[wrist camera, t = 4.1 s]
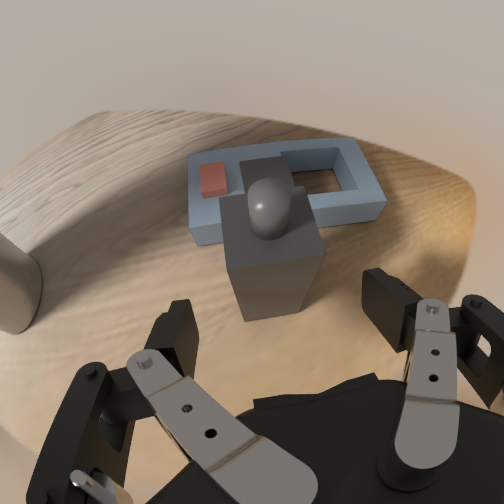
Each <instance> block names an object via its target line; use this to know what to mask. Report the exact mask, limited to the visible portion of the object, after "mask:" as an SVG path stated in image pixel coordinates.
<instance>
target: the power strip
mask: <svg viewBox="0 0 504 504" xmlns="http://www.w3.org/2000/svg"><path fill="white" fill-rule="evenodd" d="M321 169H333V170H334V172H335V175H336V177H337V179H338V181H339V184H340V186H341V189H342V191H338V192H329V193H320V194H311V195H307V196H308V199H309V202H310V205H311V208H312V211H313V214H314V217H315V221H316V224H317V227H318V228H323V227H330V226H337V225H344V224H351V223H358V222H366V221H373V220H376V219H377V218H378V216H379V214H380V213H381V211H382V209H383V207H384V206H385V204H386V202H387V199H386V197H385V195H384V193H383V191H382V189H381V187H380V185H379V183H378V181H377V179H376V177H375V175H374V173H373V171H372V169H371V167H370V165H369V164H368V162H367V160H366V158H365V156H364V155H363V153H362V151H361V149H360V147H359V146H358V144H357V142H356V141H355V139H354V137H337V138H316V139H301V140H289V141H279V142H269V143H260V144H252V145H245V146H237V147H231V148H224V149H218V150H212V151H206V152H200V153H195V154H190V155H188V212H189V229H190V231H191V233H192V235H193V238H194V240H195V242H196V244H197V246H204V245H210V244H216V243H223V233H222V224H221V215H220V206H219V197H225V196H231V195H238V194H244V193H248V190H249V188H250V186H251V185H252V184H253V183H255V182H256V181H258V180H260V179H264V178H274V179H278V180H281V181H283V182H284V183H285V184H287V185H288V187H296V186H295V183H294V180H293V177H292V174H291V172H300V171H310V170H321Z"/></svg>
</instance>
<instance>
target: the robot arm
mask: <svg viewBox="0 0 504 504" xmlns="http://www.w3.org/2000/svg"><path fill="white" fill-rule="evenodd" d="M41 289H42V277H41V271H40V268H39V266H38V264H37V262H36V261H35V260H34V259H33V258H32V257H30V256H29V255H28V254H26V253H25V252H24V251H22V250H21V249H20V248H18V247H17V246H16V245H14V244H13V243H12V242H11V241H10V240H8V239H7V238H6V237H5V236H3V235H2V234H1V233H0V330H1V331H4V332H7V333H9V334H18V333H21V332H22V331H23V330H25V329H26V328H27V326H28V325H29V324H30V322H31V321H32V319H33V317H34V315H35V313H36V311H37V308H38V305H39V301H40V296H41ZM362 308H363V310H364V312H365V314H366V315H367V316H368V317H369V319H370V320H371V321H372V322H373V324H374V325H375V326H376V327H377V329H378V330H379V331H380V332H381V334H382V335H383V336H384V338H385V339H386V340H387V341H388V343H389V344H390V345H391V347H392V348H393V349H394V350H395V352H396V353H399V352H402V351H404V350H407V351H408V353H407V357H406V362H405V367H404V372H403V377H402V381H397V380H378V378H377V376H376V375H375V373H370V374H367V375H364V376H360V377H357V378H354V379H350V380H347V381H345V382H343V383H341V384H339V385H337V386H334V387H332V388H330V389H328V390H326V391H324V392H322V393H319V394H284V395H278V396H272V397H266V398H259V399H253V403H254V408H253V409H250V410H248V411H245V412H243V413H241V414H239V415H238V416H236V417H234V416H233V415H231V414H230V413H229V412H228V411H227V410H226V409H224V408H223V407H222V406H221V405H220V404H219V403H218V402H217V401H215V400H214V399H213V398H212V397H211V396H210V395H209V394H208V393H207V392H206V391H205V390H203V389H202V388H201V387H200V386H199V385H198V384H197V383H196V382H195V381H194V380H193V379H194V372H195V365H196V358H197V351H198V345H199V333H198V328H197V324H196V321H195V317H194V313H193V310H192V306H191V303H190V300H189V299H185V300H177V301H172V303H171V306H170V308H169V311H168V312H166V313H162V314H161V315H160V316H159V317H158V318H157V319H156V321H155V323H154V325H153V328H152V330H151V333H150V335H149V337H148V340H147V342H146V344H145V347H144V349H143V350H141V351H139V352H136V353H135V354H133V355H132V356H131V357H130V358H129V359H128V361H127V364H126V367H124V368H120V369H116V370H112V371H108V369H107V367H106V366H105V364H103V363H101V362H91V363H88V364H86V365H84V366H83V367H81V368H80V369H79V370H78V371H77V373H76V375H75V377H74V379H73V381H72V383H71V385H70V387H69V389H68V391H67V393H66V395H65V397H64V399H63V401H62V403H61V405H60V407H59V410H58V412H57V414H56V416H55V418H54V421H53V423H52V425H51V428H50V430H49V432H48V435H47V437H46V440H45V442H44V445H43V447H42V450H41V452H40V455H39V458H38V460H37V463H36V466H35V469H34V472H33V475H32V478H31V481H30V484H29V487H28V491H27V494H26V503H27V504H133V500H132V498H131V496H130V494H129V493H128V492H127V491H126V490H124V489H123V488H124V481H125V475H126V469H127V463H128V457H129V451H130V446H131V441H132V435H133V430H134V426H135V421H136V420H139V419H143V418H147V417H151V416H154V417H155V418H156V420H157V421H158V423H159V424H160V425H161V427H162V428H163V429H164V431H165V432H166V433H167V435H168V436H169V437H170V439H171V440H172V441H173V443H174V444H175V445H176V446H177V448H178V449H179V450H180V452H181V453H182V454H183V456H184V457H185V458H186V459H187V461H188V462H189V463H188V464H187V465H186V466H185V467H184V468H183V469H182V470H181V471H180V472H179V473H178V474H177V475H176V476H175V477H174V478H173V479H172V480H171V481H170V482H169V483H168V484H167V485H165V486H164V487H163V488H162V489H161V490H160V491H159V492H158V493H157V494H156V495H155V496H153V497H152V498H151V499H150V500H149V501H148V502H147V503H145V504H504V313H503V312H502V311H501V310H499V309H498V308H497V307H496V306H494V305H493V304H492V303H491V302H489V301H488V300H487V299H485V298H483V297H482V296H479V295H467V296H465V297H464V298H463V300H462V305H461V307H456V308H448V306H447V304H446V303H445V302H443V301H441V300H438V299H434V298H427V299H423V298H422V297H421V296H419V295H418V294H417V293H416V292H415V291H413V290H412V289H410V287H408V286H407V285H405V283H403V282H402V281H401V280H400V279H398V278H395V277H393V276H390V275H388V274H387V273H385V272H384V271H383V270H382V269H380V268H374V269H369V270H365V271H364V272H363V276H362ZM481 335H482V336H483V337H484V338H485V339H486V340H487V341H488V342H489V343H490V346H491V354H490V356H489V357H488V356H487V355H486V354H485V353H484V352H483V351H482V350H481V349H480V348H479V347H478V346H477V345H478V342H479V339H480V336H481ZM457 368H458V369H459V370H460V372H461V373H462V374H463V375H464V377H465V378H466V379H467V380H468V382H469V383H470V384H471V386H472V387H473V388H474V390H475V391H476V392H477V394H478V395H479V396H480V398H481V399H482V400H483V402H484V403H485V405H486V406H487V407H488V409H489V410H490V411H488V410H485V409H481V408H478V407H475V406H471V405H469V404H466V403H463V402H459V401H457V399H456V398H457ZM100 416H101V417H100ZM99 419H100V420H99Z"/></svg>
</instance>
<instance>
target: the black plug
mask: <svg viewBox="0 0 504 504" xmlns="http://www.w3.org/2000/svg"><path fill="white" fill-rule="evenodd" d="M219 206H220V215H221V224H222V233H223V242H224V251H225V259H226V267H227V272H228V275H229V278H230V281H231V284H232V287H233V290H234V293H235V296H236V299H237V301H238V304H239V307H240V310H241V313H242V316H243V319H244V322H247V321H253V320H260V319H266V318H272V317H278V316H284V315H289V314H295V313H298V312H299V310H300V308H301V306H302V304H303V302H304V300H305V298H306V296H307V294H308V291H309V289H310V287H311V285H312V283H313V281H314V279H315V276H316V274H317V272H318V270H319V268H320V266H321V263H322V261H323V259H324V257H325V251H324V247H323V244H322V240H321V237H320V234H319V230H318V227H317V224H316V221H315V217H314V214H313V211H312V208H311V205H310V202H309V199H308V196H307V193H306V190H305V187H304V186H297V187H288V185H287V184H285V183H284V182H283V181H281V180H278V179H274V178H264V179H260V180H258V181H256V182H255V183H253V184H252V185H251V186H250V188H249V190H248V193H244V194H238V195H231V196H225V197H219Z"/></svg>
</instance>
